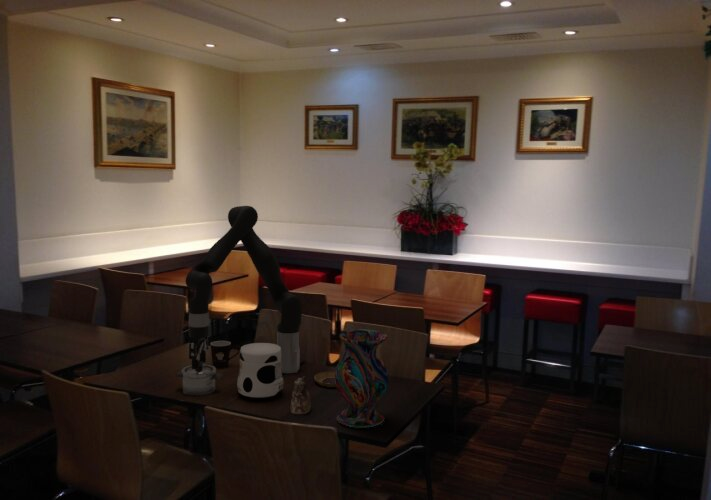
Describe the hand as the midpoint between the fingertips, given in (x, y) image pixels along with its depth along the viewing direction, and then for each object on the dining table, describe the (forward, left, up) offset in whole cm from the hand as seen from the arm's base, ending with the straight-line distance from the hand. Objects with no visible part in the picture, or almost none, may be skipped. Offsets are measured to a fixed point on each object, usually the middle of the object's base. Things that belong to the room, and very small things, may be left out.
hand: (198, 365), depth 236 cm
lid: (0, 0, -3) cm, 3 cm away
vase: (-64, +18, -10) cm, 67 cm away
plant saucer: (-49, -18, -10) cm, 53 cm away
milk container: (-24, 0, -10) cm, 26 cm away
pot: (0, 0, -10) cm, 10 cm away
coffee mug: (0, -30, -10) cm, 32 cm away
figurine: (-42, +13, -10) cm, 45 cm away
